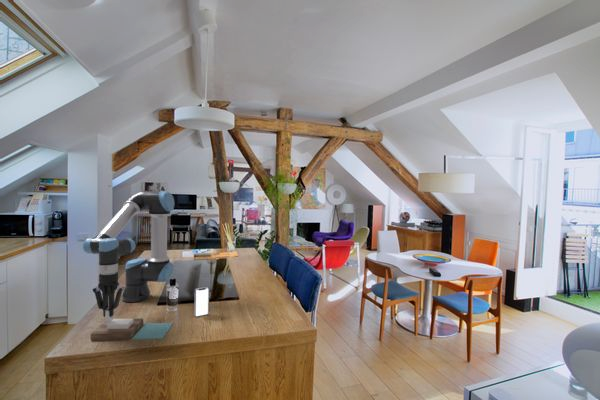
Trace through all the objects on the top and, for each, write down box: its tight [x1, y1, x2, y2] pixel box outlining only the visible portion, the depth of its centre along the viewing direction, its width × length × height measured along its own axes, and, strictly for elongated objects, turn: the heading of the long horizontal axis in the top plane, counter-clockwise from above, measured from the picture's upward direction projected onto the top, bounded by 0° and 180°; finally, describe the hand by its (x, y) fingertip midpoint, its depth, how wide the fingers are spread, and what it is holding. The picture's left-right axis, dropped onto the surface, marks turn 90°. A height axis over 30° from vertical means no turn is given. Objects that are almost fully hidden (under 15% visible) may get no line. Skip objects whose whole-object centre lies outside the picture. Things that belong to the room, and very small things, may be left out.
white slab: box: [107, 318, 134, 329], centre depth 141 cm, size 6×9×2 cm, turn 96°
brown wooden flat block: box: [90, 317, 144, 342], centre depth 141 cm, size 15×16×3 cm
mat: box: [131, 322, 174, 341], centre depth 143 cm, size 15×13×1 cm
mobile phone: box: [193, 286, 210, 318], centre depth 161 cm, size 8×1×15 cm, turn 124°
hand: (108, 323), depth 141 cm, fingers closed
